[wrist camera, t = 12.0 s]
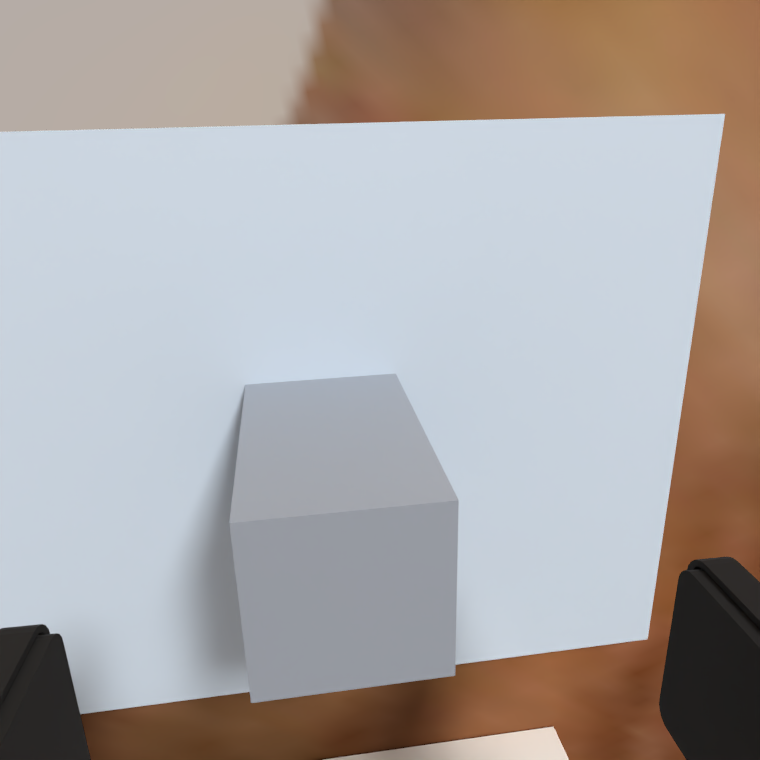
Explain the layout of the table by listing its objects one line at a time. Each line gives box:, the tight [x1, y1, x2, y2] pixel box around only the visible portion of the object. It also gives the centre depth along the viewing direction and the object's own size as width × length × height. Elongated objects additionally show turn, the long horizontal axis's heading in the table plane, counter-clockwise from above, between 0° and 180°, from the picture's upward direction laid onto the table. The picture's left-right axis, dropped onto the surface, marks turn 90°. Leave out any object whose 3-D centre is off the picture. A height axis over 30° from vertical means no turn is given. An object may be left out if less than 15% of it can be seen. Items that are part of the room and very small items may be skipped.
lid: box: [0, 114, 725, 714], centre depth 14 cm, size 19×15×7 cm
